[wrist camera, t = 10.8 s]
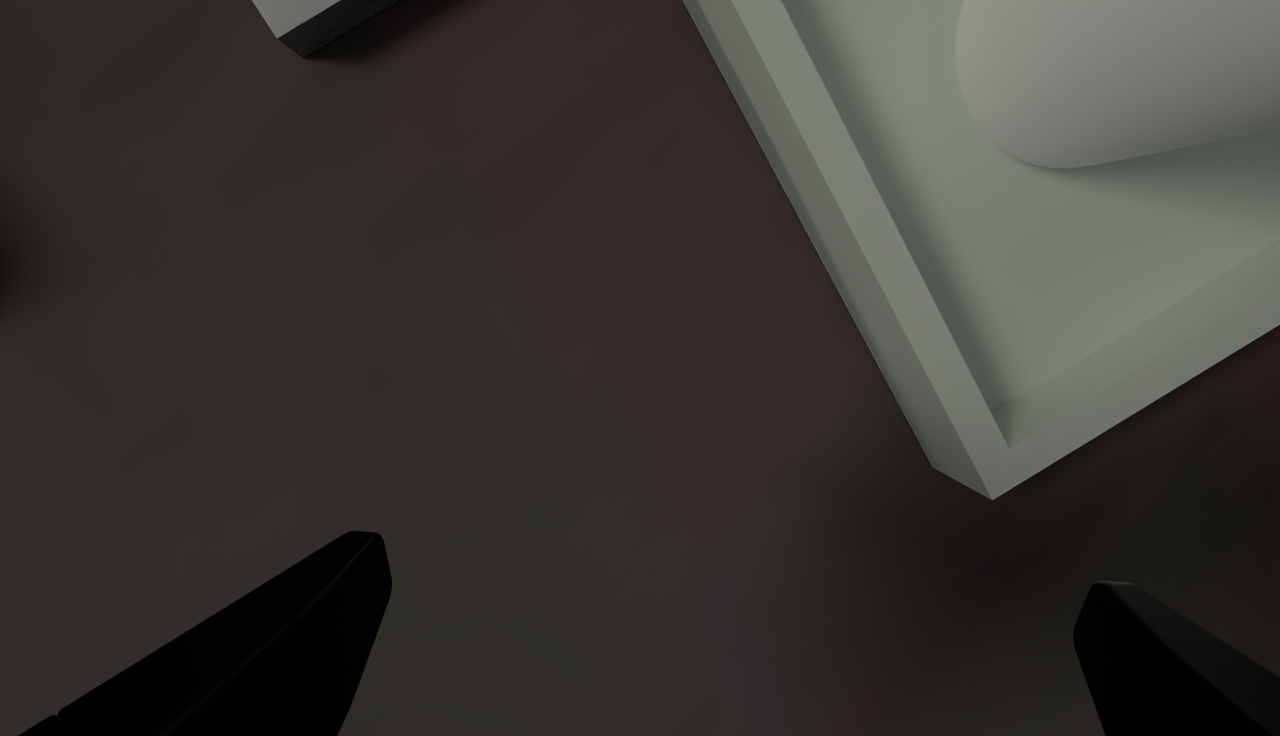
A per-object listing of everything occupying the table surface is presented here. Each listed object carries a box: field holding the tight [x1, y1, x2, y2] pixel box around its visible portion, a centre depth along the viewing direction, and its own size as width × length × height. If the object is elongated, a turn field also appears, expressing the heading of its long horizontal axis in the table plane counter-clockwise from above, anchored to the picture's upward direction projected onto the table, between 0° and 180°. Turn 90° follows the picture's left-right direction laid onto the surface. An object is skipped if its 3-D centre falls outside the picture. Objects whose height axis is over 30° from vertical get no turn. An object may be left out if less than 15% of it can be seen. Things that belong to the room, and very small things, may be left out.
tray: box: [683, 0, 1280, 500], centre depth 18 cm, size 16×16×3 cm
